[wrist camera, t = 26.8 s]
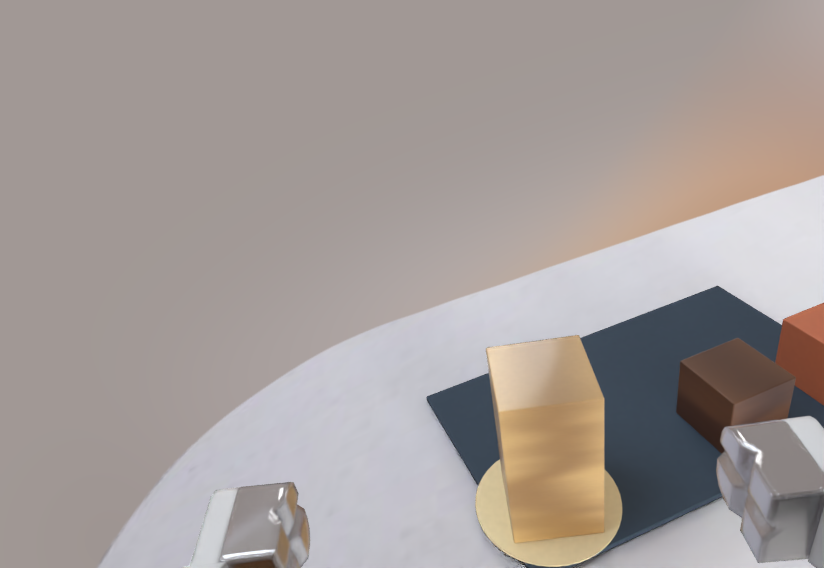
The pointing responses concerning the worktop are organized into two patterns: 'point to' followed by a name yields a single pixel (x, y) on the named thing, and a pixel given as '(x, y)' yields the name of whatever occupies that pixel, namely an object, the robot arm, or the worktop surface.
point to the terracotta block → (804, 350)
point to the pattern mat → (623, 425)
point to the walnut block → (731, 389)
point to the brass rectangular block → (549, 437)
